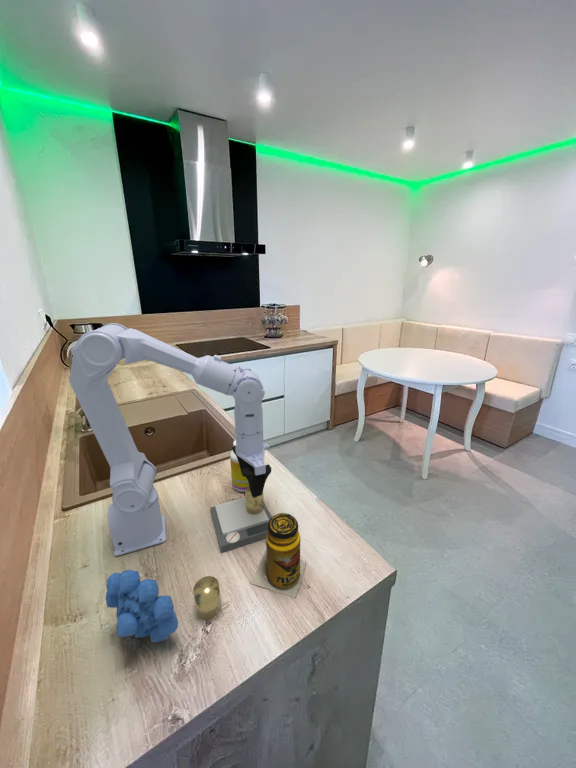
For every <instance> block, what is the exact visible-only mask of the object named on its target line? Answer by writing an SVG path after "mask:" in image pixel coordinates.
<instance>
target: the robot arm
mask: <svg viewBox="0 0 576 768" xmlns="http://www.w3.org/2000/svg"><path fill="white" fill-rule="evenodd" d="M70 352H71V354H72V361H71V365H70V366H71V367H70V373H69V374H70V375H69V384H70V386H71V388H72V391H73V393H74V395H75V397H76V399H77V401H78V403H79V405H80V407H81V409H82V411H83V413H84V415H85V417H86V419H87V422H88V424H89V426H90V428H91V430H92V432H93V434H94V436H95V438H96V441H97V442H98V444H99V446H100V449H101V450H102V453H103V455H104V457H105V459H106V461H107V463H108V465H109V468H110V470H109V471H110V475H109V476H110V477H109V487H110V489H111V490H112V496H111V498H112V499H111V502H112V504H109V506H108V510H107V522H108V524H107V525H108V529H109V533H110V538H111V542H112V547H113V550H114V552H113V553H114V554H113V555H114V557H118V556H121V555H124V554H129V553H132V552H135V551H138V550H141V549H145V548H148V547H153V546H156V545H158V544H159V545H160V544H163V543H164V542H166V541H167V534H166V517H165V515H164V514H162V512H161V507H160V501H159V495H158V491H157V488H155V485H154V481H155V479H156V478H157V473H158V472H157V468H156V467H155V465H154V464H153V463H152V462H151V461H149V460H148V458H147V457H146V454H145V453H144V452H140V451H139V450H138V448H137V446H136V444H135V442H134V439H133V436H132V433H131V432H130V430H129V427H128V425H127V423H126V421H125V419H124V415H123V413H122V411H121V408H120V406H119V404H118V402H117V399H116V398H115V394H114V393H113V391H112V388H111V386H110V384H109V380H108V379H109V378H110V376H111V375H112V373H113V372H114V370H115V369H116V367H117V365H118V364H119V362H121V360H123V359H124V364H125V365H127V364H133V363H138V362H142V361H150V362H154V363H156V364H158V365H162V366H165V367H169V368H171V369H174V370H177V371H180V372H183V373H186V374H188V375H191V376H192V378H193V380H194V382H195V384H196V385H200V386H201V387H204V388H207V389H209V390H212V391H215V392H217V393H221V394H223V395H225V396H230V397H231V396H232V397H233V399H234V408H233V412H234V413H233V415H234V428H235V429H234V431H235V440H236V446H233V445H232V448H231V451H232V450H233V452H234V453H235V455H236V457H237V459H238V462H239V466H240V469H241V473H242V475H243V477H244V476H245V477H246V478H247V480H248V483H249V488H250V492H251V495H252V497H257V496H260V495H262V493H263V494H264V488H265V484H266V482H267V479H268V477H269V475H271V474H272V467H271V465H270V464H266V463H265V451H266V450H269V449H270V445H269V443H268V442H264V415H263V414H264V410H263V407H262V404H263V399H264V396H265V394H266V393H265V392H266V391H265V390H264V385H263V384H262V381H261V379H260V377H259V375H258V374H257V373H256V372H255V371H253V370H252V369H251V368H247V367H246V368H245V367H243V366H241V365H239V366H238V367H237V366H235V365H233V364H230V363H228V362H225V361H222V356H219V355H218V354H214V356H211V355H208V354H207V355H204V356H201V357H196V356H194V355H192V354H190V353H187V352H185V351H183V350H181V349H179V348H177V347H174V346H172V345H170V344H168V343H166V342H164V341H161V340H159V339H157V338H155V337H153V336H151V335H149V334H147V333H144V332H142V331H140V330H138V329H135V328H131V327H129V328H127V327H126V326H125V325H123V324H120V323H115V322H112V323H111V322H110V323H106V324H104V325H102V326H101V327H99V328H97V329H94V330H89V331H87V332H85V333H83V334H82V335H81V336H80V337H79V339H77V341H76V343H75V344H74V345H73V346H72V347H71V349H70Z"/></svg>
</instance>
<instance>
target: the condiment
mask: <svg viewBox="0 0 576 768" xmlns="http://www.w3.org/2000/svg"><path fill="white" fill-rule="evenodd" d="M271 517H272V518H271V519H270V520H269V523H268V533H267V535H266V538H265V546H266V549H265V550H264V553H263V554H262V556H261V557H262V558H261V559H260V561H259V564H258V567H257V569H256V570H255V573H254V575H253V578H251V581H250V585H255V586H258V587H262V588H264V589H268V590H271V591H273V592H277V593H278V594H283V595H287V596H290V597H293V598H297V595H298V591H299V587H300V585H301V582H302V577H303V575H304V572H305V566H306V564H307V561H306V560H301V535H300V532H299V523H298V520H297V519H296V517H295V516H293V515H291V514H290V513H285V512H281V513H277V514H275V515H273V516H271Z"/></svg>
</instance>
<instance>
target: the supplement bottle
mask: <svg viewBox="0 0 576 768" xmlns="http://www.w3.org/2000/svg"><path fill="white" fill-rule="evenodd" d="M233 446H236V439H235V440H233V444H232V447H233ZM229 460H230V472H231V476H230V477H231V484H232V488H233V489H234V490H235V491H236V492H240V493H245V490H246V489H247V488H248V487H249V483H248V480H247V478H246V477H245V476H244V477H243V475H242V473H241V469H240V466H239V462H238V459H237V457H236V455H235V453H234V452H233V450H232V449H231V451H230V454H229Z"/></svg>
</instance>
